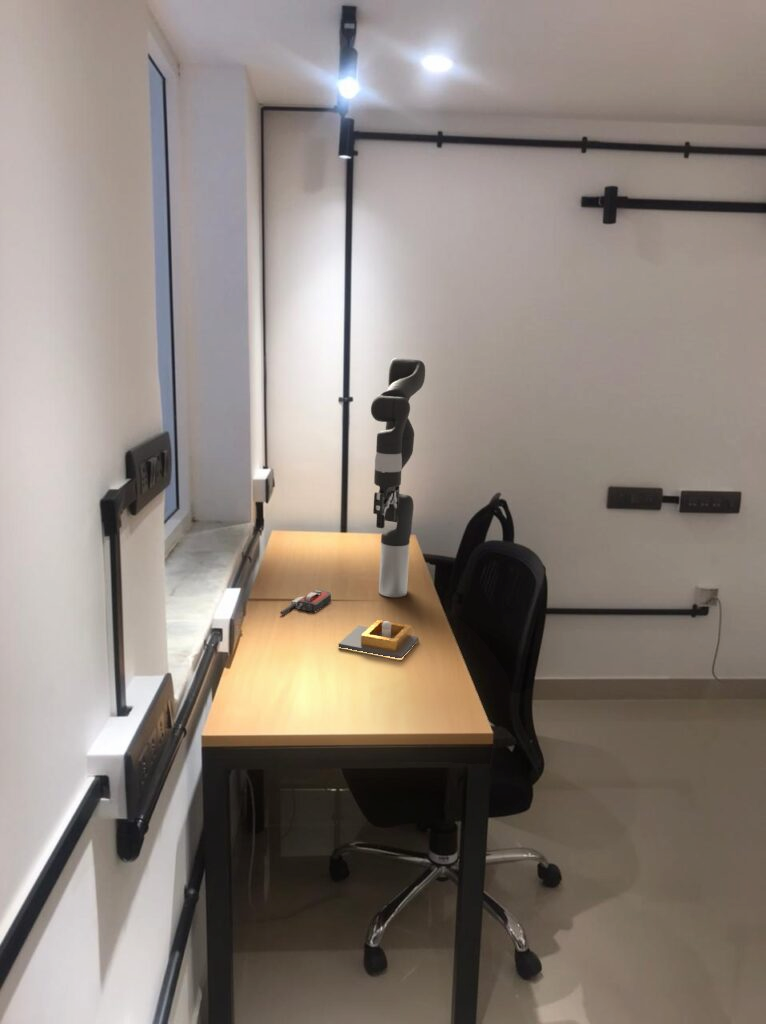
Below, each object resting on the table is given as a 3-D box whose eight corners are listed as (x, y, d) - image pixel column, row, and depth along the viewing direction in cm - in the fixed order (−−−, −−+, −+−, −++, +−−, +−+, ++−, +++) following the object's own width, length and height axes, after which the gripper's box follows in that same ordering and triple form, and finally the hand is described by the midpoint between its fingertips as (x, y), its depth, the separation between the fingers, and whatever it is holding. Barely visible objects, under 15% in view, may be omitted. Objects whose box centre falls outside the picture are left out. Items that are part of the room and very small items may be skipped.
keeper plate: (358, 630, 219) (359, 606, 218) (418, 641, 213) (419, 617, 212) (338, 648, 207) (339, 623, 205) (401, 661, 200) (402, 635, 199)
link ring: (377, 629, 217) (377, 619, 216) (410, 636, 213) (411, 625, 212) (360, 645, 206) (361, 634, 205) (395, 652, 202) (396, 641, 202)
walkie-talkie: (309, 596, 246) (277, 616, 228) (309, 583, 245) (278, 602, 227) (333, 600, 243) (304, 622, 225) (334, 587, 242) (304, 607, 224)
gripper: (384, 463, 222) (382, 517, 226) (366, 471, 209) (364, 528, 213) (409, 465, 219) (406, 520, 223) (391, 473, 206) (389, 532, 210)
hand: (385, 524), depth 218 cm, fingers open, 8 cm apart
